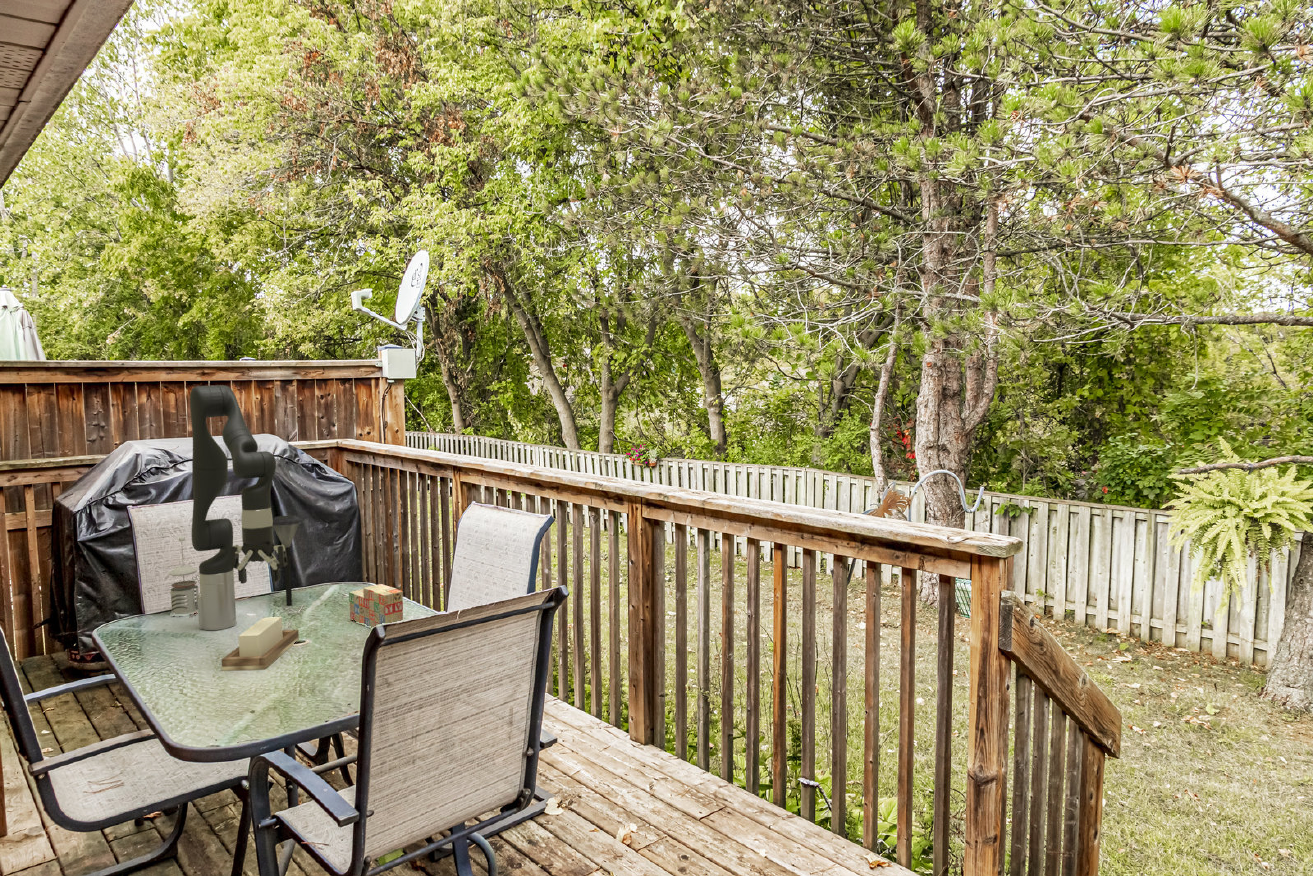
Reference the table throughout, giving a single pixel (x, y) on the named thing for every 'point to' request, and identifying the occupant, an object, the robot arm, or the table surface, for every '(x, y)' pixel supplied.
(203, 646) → the table surface
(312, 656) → the table surface
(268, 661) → the wooden serving tray
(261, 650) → the block
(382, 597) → the stack of blocks
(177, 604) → the french press
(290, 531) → the solar garden light
